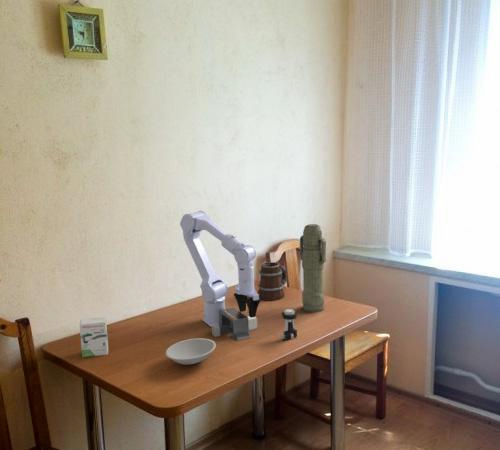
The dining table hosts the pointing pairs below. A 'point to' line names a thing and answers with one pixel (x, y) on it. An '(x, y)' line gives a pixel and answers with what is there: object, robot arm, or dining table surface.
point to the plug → (226, 330)
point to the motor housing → (234, 323)
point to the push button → (289, 324)
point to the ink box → (94, 336)
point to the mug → (271, 281)
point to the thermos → (313, 267)
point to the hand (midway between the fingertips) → (247, 314)
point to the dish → (190, 350)
